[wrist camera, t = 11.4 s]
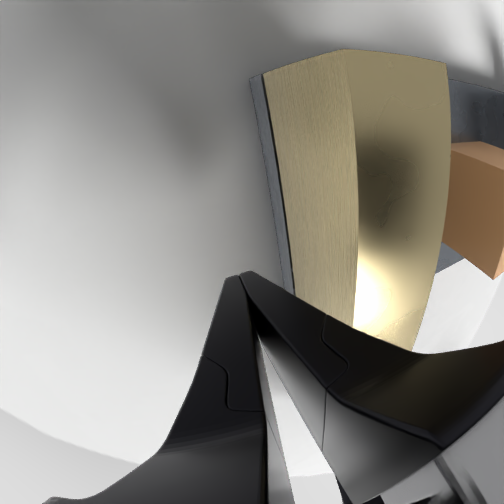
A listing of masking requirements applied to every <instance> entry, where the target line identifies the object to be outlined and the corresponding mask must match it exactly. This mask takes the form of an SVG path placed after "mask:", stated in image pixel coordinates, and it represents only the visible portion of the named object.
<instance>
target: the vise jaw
mask: <svg viewBox="0 0 504 504" xmlns="http://www.w3.org/2000/svg"><path fill="white" fill-rule="evenodd" d="M263 77H264V82H265V87H266V93H267V98H268V103H269V109H270V115H271V120H272V126H273V132H274V138H275V144H276V150H277V157H278V163H279V169H280V176H281V183H282V189H283V196H284V203H285V211H286V218H287V225H288V233H289V241H290V249H291V257H292V265H293V274H294V283H295V292H296V296H297V297H298V298H300V299H302V300H304V301H305V302H307V303H309V304H311V305H312V306H314V307H316V308H318V309H319V310H321V311H323V312H325V313H326V315H327V314H328V315H330V316H332V317H334V318H336V319H337V320H339V321H341V322H343V323H345V324H347V325H349V326H351V327H353V328H355V329H357V330H359V331H362V332H364V333H366V334H369V335H371V336H373V337H376V338H378V339H381V340H383V341H386V342H388V343H391V344H393V345H396V346H398V347H401V348H404V349H406V350H409V351H412V348H413V345H414V343H415V340H416V337H417V334H418V331H419V328H420V325H421V322H422V319H423V316H424V312H425V309H426V305H427V302H428V298H429V295H430V291H431V287H432V283H433V279H434V275H435V271H436V266H437V262H438V257H439V252H440V247H441V241H442V235H443V229H444V223H445V216H446V208H447V199H448V189H449V177H450V159H451V114H450V97H449V85H448V75H447V67H446V63H442V62H438V61H433V60H429V59H424V58H419V57H413V56H407V55H401V54H394V53H386V52H377V51H367V50H353V49H341V50H337V51H333V52H329V53H325V54H322V55H318V56H315V57H311V58H308V59H304V60H301V61H298V62H295V63H292V64H289V65H286V66H283V67H280V68H277V69H274V70H272V71H269V72H266V73H263Z"/></svg>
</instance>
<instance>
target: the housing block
mask: <svg viewBox="0 0 504 504" xmlns="http://www.w3.org/2000/svg"><path fill="white" fill-rule="evenodd" d="M442 242H443V243H445V244H446V245H447V246H449V247H450V248H452V249H453V250H455V251H456V252H457V253H459V254H460V255H461V256H463V257H464V258H466V259H467V260H468V261H470V262H471V263H472V264H474V265H475V266H476V267H477V268H479V269H480V270H481V271H483V272H484V273H485V274H486V275H488V276H489V277H490V278H491V279H493V280H494V279H495V278H496V277H497V276H499V275H500V274H501V273H502V272H504V149H501V148H498V147H496V146H493V145H490V144H487V143H484V142H481V141H478V142H462V143H451V159H450V177H449V189H448V199H447V208H446V216H445V223H444V229H443V235H442Z"/></svg>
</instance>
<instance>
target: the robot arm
mask: <svg viewBox="0 0 504 504" xmlns="http://www.w3.org/2000/svg"><path fill="white" fill-rule="evenodd" d="M259 339H260V341H261V343H262V345H263V347H264V349H265V351H266V353H267V355H268V357H269V359H270V361H271V362H272V364H273V366H274V368H275V370H276V372H277V374H278V375H279V377H280V379H281V381H282V383H283V385H284V386H285V388H286V390H287V392H288V394H289V396H290V397H291V399H292V401H293V403H294V405H295V406H296V408H297V410H298V412H299V413H300V415H301V417H302V419H303V421H304V422H305V424H306V426H307V428H308V429H309V431H310V433H311V435H312V436H313V438H314V440H315V441H316V443H317V445H318V447H319V448H320V450H321V452H322V454H323V455H324V457H325V459H326V460H327V462H328V464H329V465H330V467H331V469H332V470H333V472H334V474H335V476H336V480H337V483H338V486H339V489H340V492H341V496H342V502H343V504H504V340H503V341H501V342H497V343H494V344H488V345H484V346H479V347H474V348H468V349H462V350H456V351H450V352H443V353H436V354H422V353H416V352H412V351H409V350H406V349H404V348H401V347H398V346H396V345H393V344H391V343H388V342H386V341H383V340H381V339H378V338H376V337H373V336H371V335H369V334H366V333H364V332H362V331H359V330H357V329H355V328H353V327H351V326H349V325H347V324H345V323H343V322H341V321H339V320H337V319H336V318H334V317H332V316H330V315H328V314H327V315H326V313H325V312H323V311H321V310H319V309H318V308H316V307H314V306H312V305H311V304H309V303H307V302H305V301H304V300H302V299H300V298H298V297H297V296H295V295H293V294H291V293H290V292H288V291H286V290H284V289H283V288H281V287H279V286H277V285H276V284H274V283H272V282H271V281H269V280H267V279H265V278H264V277H262V276H260V275H259V274H257V273H255V272H253V271H247V272H244V273H241V274H240V275H239V276H238V275H234V276H231V277H228V278H226V279H225V281H224V284H223V287H222V290H221V294H220V297H219V300H218V303H217V306H216V309H215V313H214V316H213V319H212V322H211V325H210V329H209V332H208V335H207V338H206V342H205V345H204V348H203V351H202V356H201V357H200V361H199V364H198V367H197V370H196V373H195V376H194V379H193V382H192V384H191V386H190V389H189V391H188V393H187V396H186V398H185V400H184V402H183V404H182V406H181V409H180V411H179V413H178V415H177V417H176V419H175V422H174V424H173V426H172V428H171V430H170V432H169V434H168V436H167V438H166V440H165V442H164V443H163V445H162V446H161V448H160V449H159V450H158V451H157V452H156V453H155V454H154V455H153V456H152V457H151V458H149V459H148V460H147V461H145V462H144V463H143V464H141V465H140V466H139V467H137V468H136V469H135V470H133V471H132V472H130V473H129V474H127V475H126V476H125V477H123V478H122V479H120V480H119V481H117V482H116V483H114V484H113V485H111V486H110V487H108V488H107V489H105V490H104V491H102V492H100V493H98V494H96V495H94V496H91V497H88V498H84V499H68V498H61V497H51V498H49V499H48V500H47V501H45V502H44V503H42V504H295V502H294V498H293V494H292V489H291V485H290V480H289V476H288V471H287V467H286V462H285V458H284V453H283V449H282V444H281V439H280V435H279V430H278V426H277V421H276V416H275V412H274V407H273V402H272V398H271V393H270V388H269V383H268V379H267V374H266V369H265V364H264V360H263V355H262V350H261V345H260V341H259Z"/></svg>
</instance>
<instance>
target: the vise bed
mask: <svg viewBox="0 0 504 504" xmlns="http://www.w3.org/2000/svg"><path fill="white" fill-rule="evenodd" d="M249 80H250V85H251V90H252V95H253V100H254V105H255V111H256V116H257V121H258V127H259V132H260V138H261V144H262V149H263V155H264V161H265V166H266V172H267V178H268V184H269V190H270V196H271V202H272V208H273V215H274V221H275V227H276V234H277V240H278V247H279V254H280V260H281V267H282V274H283V281H284V288H285V290H286V291H288V292H290V293H291V294H293V295H295V296H296V292H295V283H294V274H293V265H292V257H291V249H290V241H289V233H288V225H287V218H286V211H285V203H284V196H283V189H282V183H281V176H280V169H279V163H278V157H277V150H276V144H275V138H274V132H273V126H272V120H271V115H270V109H269V103H268V98H267V93H266V87H265V82H264V77H263V74H262V75H258V76H256V77H253V78H251V79H249ZM448 85H449V97H450V114H451V143H462V142H478V141H481V142H484V143H487V144H490V145H493V146H496V147H498V148H501V149H504V93H503V92H500V91H496V90H493V89H489V88H486V87H482V86H478V85H474V84H470V83H465V82H461V81H456V80H451V79H448ZM462 259H464V257H463V256H461V255H460V254H459V253H457V252H456V251H455V250H453V249H452V248H450V247H449V246H447V245H446V244H445V243H443V242H442V241H441V247H440V252H439V257H438V262H437V266H436V271H435V274H436V273H438V272H440V271H442V270H443V269H445V268H447V267H449V266H451V265H453V264H455V263H456V262H458V261H460V260H462Z"/></svg>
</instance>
